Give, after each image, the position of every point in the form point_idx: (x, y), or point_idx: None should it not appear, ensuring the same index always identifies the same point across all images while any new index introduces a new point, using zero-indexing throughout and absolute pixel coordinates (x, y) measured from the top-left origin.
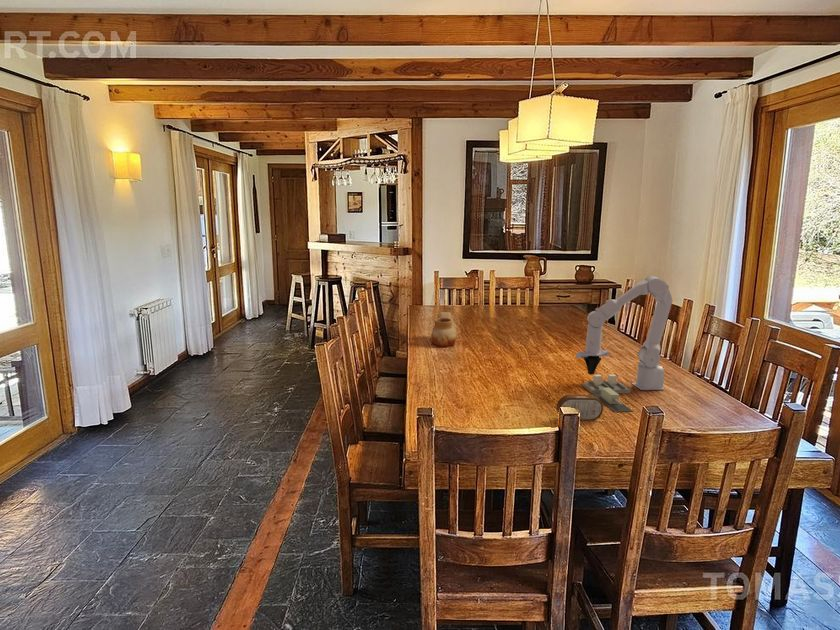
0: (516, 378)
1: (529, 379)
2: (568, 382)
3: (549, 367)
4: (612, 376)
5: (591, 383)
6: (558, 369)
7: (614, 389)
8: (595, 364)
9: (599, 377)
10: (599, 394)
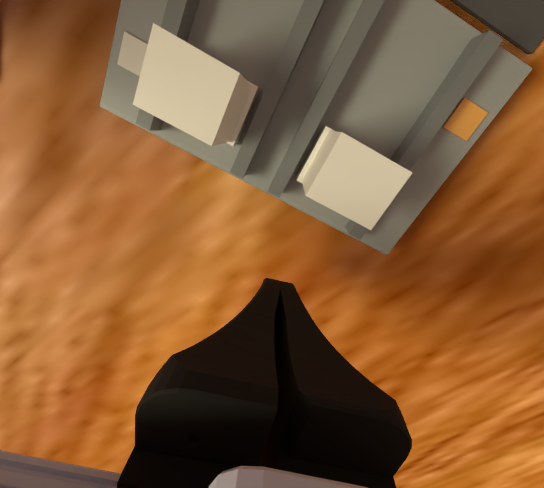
0: (541, 471)
1: (508, 442)
2: (386, 330)
3: None
4: (212, 59)
5: None
6: None
7: None
8: (269, 336)
9: (364, 146)
10: (495, 4)
